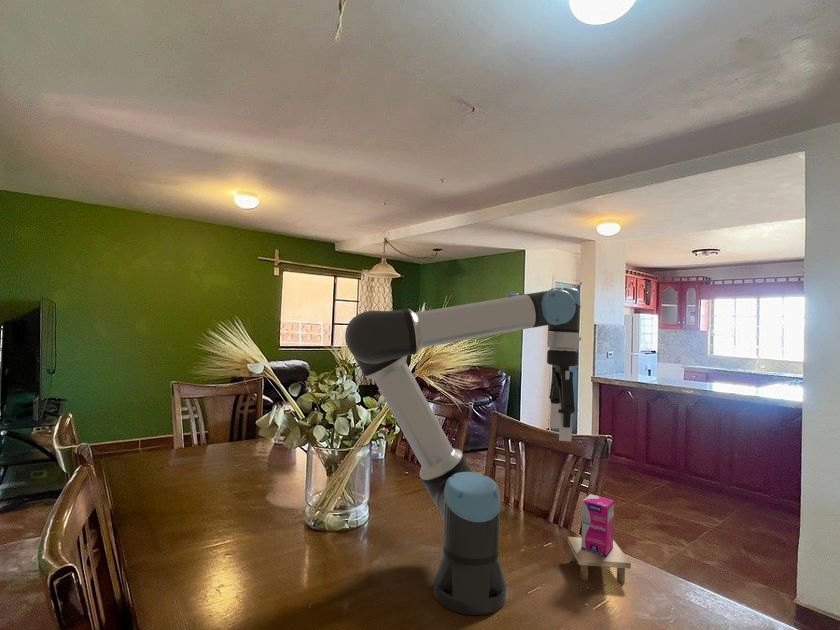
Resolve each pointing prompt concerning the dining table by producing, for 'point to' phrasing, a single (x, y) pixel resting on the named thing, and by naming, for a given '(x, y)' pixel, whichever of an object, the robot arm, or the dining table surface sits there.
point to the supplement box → (597, 524)
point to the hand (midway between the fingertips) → (559, 434)
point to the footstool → (598, 559)
